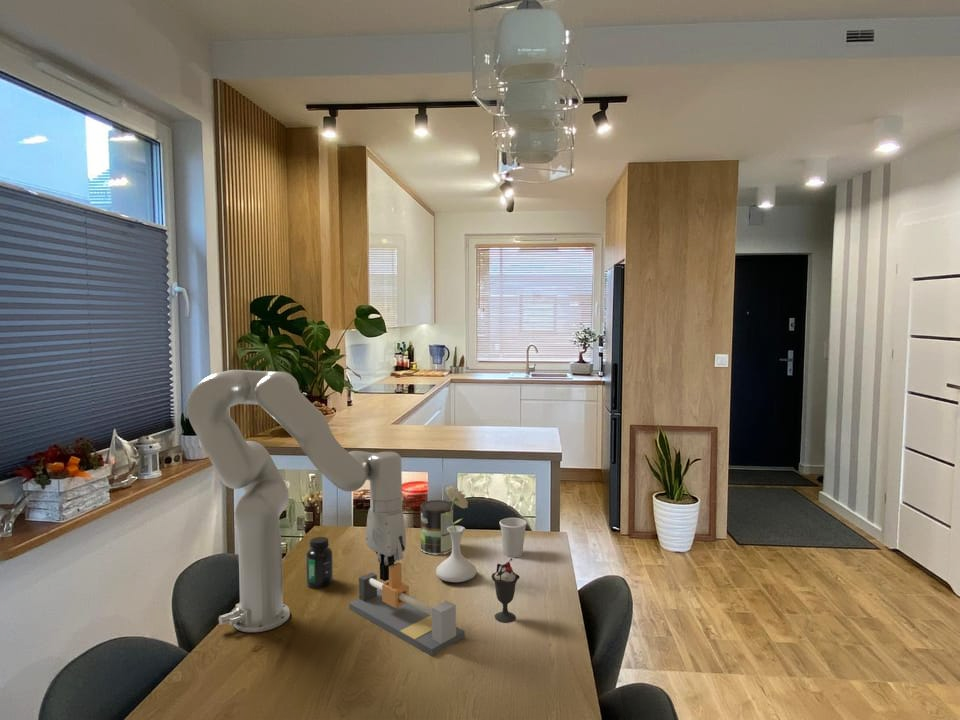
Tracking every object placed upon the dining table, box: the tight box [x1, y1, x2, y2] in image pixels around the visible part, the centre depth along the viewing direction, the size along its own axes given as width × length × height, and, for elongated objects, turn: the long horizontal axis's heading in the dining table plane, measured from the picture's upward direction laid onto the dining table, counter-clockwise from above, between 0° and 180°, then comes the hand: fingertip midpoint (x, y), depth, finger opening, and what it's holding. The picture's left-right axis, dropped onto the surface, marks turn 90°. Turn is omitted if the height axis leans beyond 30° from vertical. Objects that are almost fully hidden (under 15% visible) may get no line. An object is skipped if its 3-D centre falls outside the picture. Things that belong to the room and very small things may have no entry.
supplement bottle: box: [305, 536, 334, 589], centre depth 156 cm, size 7×7×12 cm
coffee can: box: [419, 499, 454, 555], centre depth 180 cm, size 10×10×14 cm
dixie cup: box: [499, 517, 528, 559], centre depth 176 cm, size 8×8×10 cm
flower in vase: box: [435, 485, 478, 583], centre depth 160 cm, size 13×11×25 cm
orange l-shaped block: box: [382, 562, 410, 608], centre depth 138 cm, size 5×4×9 cm
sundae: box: [491, 557, 521, 623], centre depth 138 cm, size 7×7×15 cm
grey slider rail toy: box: [348, 572, 466, 657], centre depth 136 cm, size 30×10×8 cm, turn 47°
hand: (387, 578), depth 140 cm, fingers closed
